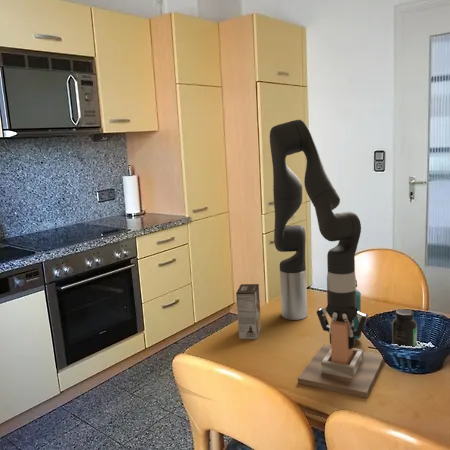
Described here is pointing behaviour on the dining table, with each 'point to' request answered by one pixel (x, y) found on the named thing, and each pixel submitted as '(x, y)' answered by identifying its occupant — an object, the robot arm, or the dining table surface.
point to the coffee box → (248, 311)
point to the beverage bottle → (358, 305)
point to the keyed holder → (343, 372)
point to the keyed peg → (340, 343)
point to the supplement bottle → (404, 328)
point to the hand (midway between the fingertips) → (342, 346)
